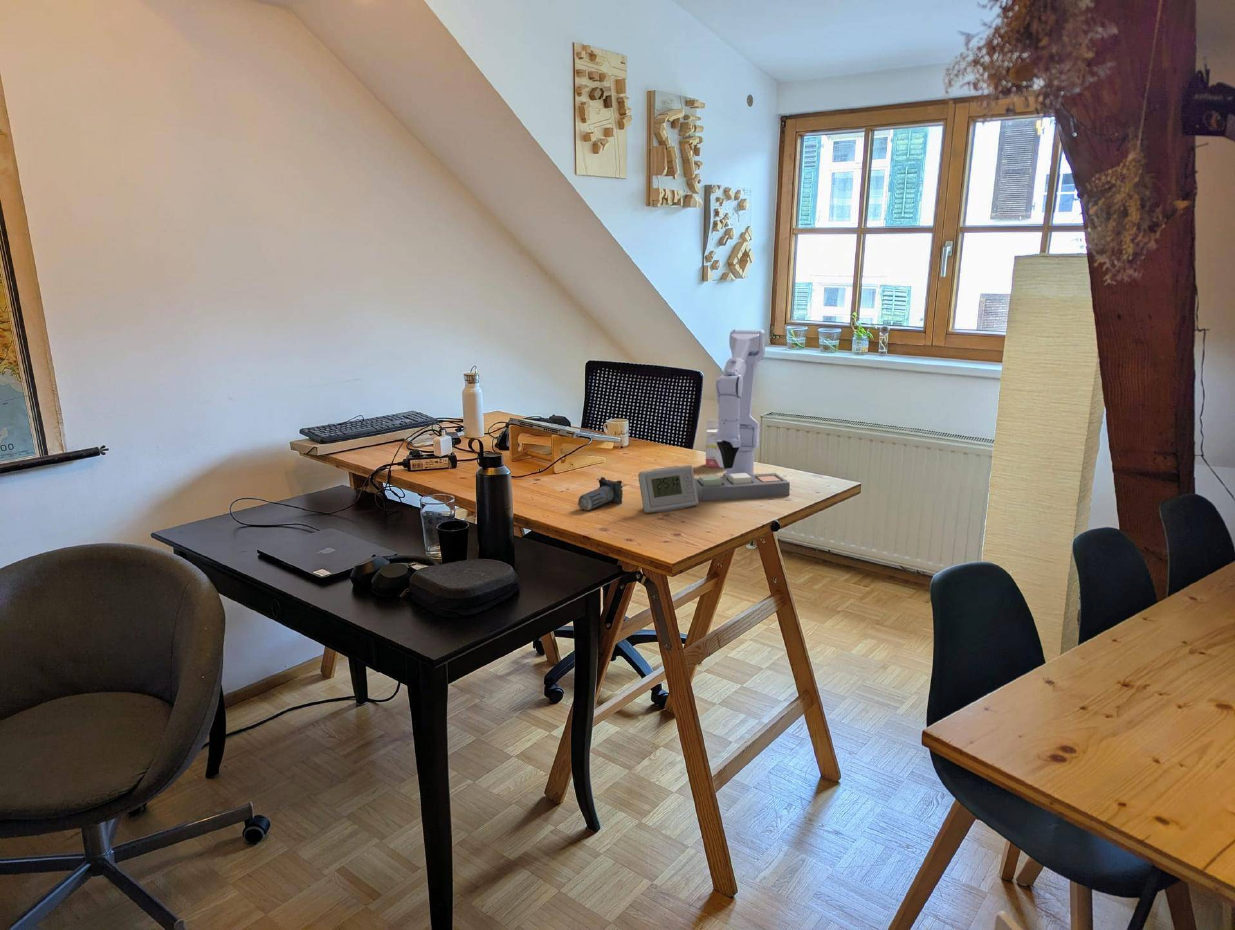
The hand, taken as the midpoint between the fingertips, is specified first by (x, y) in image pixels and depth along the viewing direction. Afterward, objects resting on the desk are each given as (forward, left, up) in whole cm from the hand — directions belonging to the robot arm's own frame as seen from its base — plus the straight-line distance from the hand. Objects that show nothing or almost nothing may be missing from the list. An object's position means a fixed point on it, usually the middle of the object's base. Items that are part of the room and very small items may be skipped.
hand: (728, 467), depth 219 cm
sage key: (0, -5, -4) cm, 7 cm away
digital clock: (+9, -19, -8) cm, 23 cm away
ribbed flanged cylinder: (+3, -37, -8) cm, 38 cm away
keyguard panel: (0, +4, -8) cm, 8 cm away
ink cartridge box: (-31, +7, -8) cm, 33 cm away
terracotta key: (0, +12, -6) cm, 13 cm away
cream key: (0, +4, -4) cm, 6 cm away
